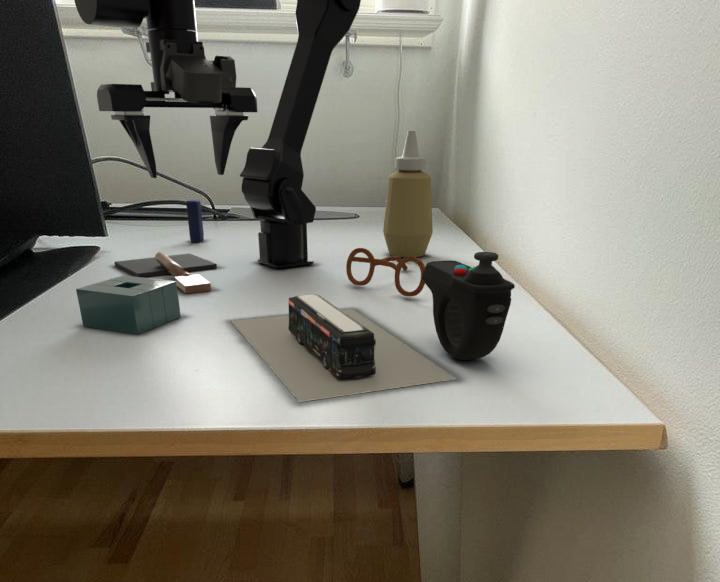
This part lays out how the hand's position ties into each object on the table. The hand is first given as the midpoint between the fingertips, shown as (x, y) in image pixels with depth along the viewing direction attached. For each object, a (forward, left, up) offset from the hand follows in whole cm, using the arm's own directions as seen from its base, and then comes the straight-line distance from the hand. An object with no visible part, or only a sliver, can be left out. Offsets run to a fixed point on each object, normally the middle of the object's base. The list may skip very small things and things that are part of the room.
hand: (188, 176), depth 86 cm
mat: (+1, -10, -13) cm, 16 cm away
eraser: (-12, -28, -13) cm, 33 cm away
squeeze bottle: (-35, +3, -13) cm, 38 cm away
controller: (-7, +45, -13) cm, 47 cm away
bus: (+2, +36, -13) cm, 38 cm away
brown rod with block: (+2, -9, -11) cm, 15 cm away
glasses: (-22, +20, -13) cm, 33 cm away
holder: (+15, +16, -13) cm, 25 cm away
